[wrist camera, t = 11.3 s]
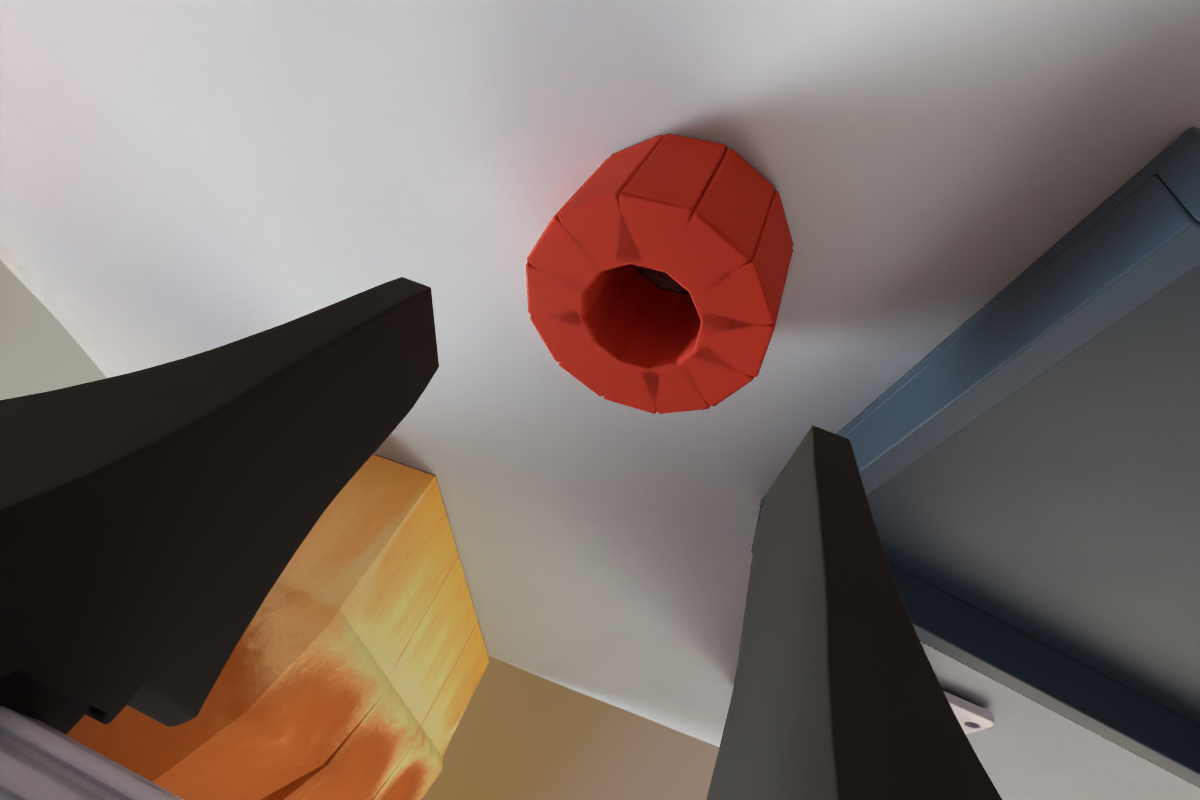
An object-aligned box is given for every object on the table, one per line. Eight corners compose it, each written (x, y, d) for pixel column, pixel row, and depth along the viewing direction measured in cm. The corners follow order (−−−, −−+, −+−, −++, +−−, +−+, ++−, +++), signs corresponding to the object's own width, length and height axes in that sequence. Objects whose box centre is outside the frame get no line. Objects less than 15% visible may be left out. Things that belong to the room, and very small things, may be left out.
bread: (228, 399, 28) (-120, 688, 19) (439, 472, 26) (161, 856, 16) (360, 608, 46) (218, 811, 36) (493, 664, 44) (378, 900, 34)
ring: (757, 356, 15) (735, 439, 13) (577, 308, 16) (530, 377, 14) (823, 161, 11) (807, 233, 9) (582, 116, 12) (519, 171, 10)
